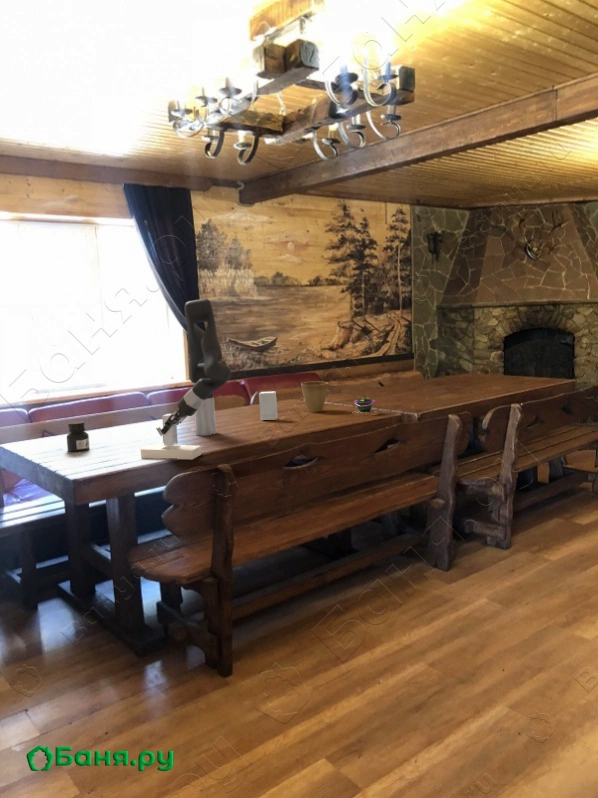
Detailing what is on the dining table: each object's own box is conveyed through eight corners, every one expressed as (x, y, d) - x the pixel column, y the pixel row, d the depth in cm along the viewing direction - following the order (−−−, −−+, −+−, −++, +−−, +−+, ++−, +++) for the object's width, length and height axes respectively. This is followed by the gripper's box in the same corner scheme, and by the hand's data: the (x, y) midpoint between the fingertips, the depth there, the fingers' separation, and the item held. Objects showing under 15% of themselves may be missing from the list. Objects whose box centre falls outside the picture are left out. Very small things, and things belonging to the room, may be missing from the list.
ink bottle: (82, 452, 264) (80, 424, 263) (63, 452, 266) (60, 424, 264) (93, 447, 274) (91, 420, 272) (75, 447, 275) (72, 420, 274)
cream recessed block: (151, 452, 260) (151, 444, 259) (201, 454, 254) (201, 445, 254) (141, 457, 251) (140, 449, 251) (192, 459, 246) (191, 450, 245)
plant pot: (300, 410, 359) (299, 382, 356) (326, 408, 360) (325, 381, 358) (303, 414, 344) (302, 385, 342) (330, 412, 346) (329, 383, 343)
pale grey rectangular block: (169, 442, 255) (168, 413, 253) (177, 443, 254) (175, 413, 252) (164, 445, 250) (162, 415, 249) (172, 445, 249) (170, 415, 248)
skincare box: (278, 419, 331) (277, 391, 329) (275, 421, 325) (274, 392, 323) (262, 419, 333) (261, 391, 331) (259, 421, 327) (258, 392, 325)
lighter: (172, 442, 281) (170, 424, 279) (173, 442, 279) (172, 424, 278) (156, 444, 277) (155, 426, 276) (158, 444, 275) (156, 426, 274)
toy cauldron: (345, 415, 338) (345, 394, 337) (359, 410, 350) (359, 391, 349) (370, 417, 330) (370, 396, 328) (383, 412, 342) (383, 392, 340)
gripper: (192, 392, 254) (167, 421, 259) (177, 397, 241) (150, 427, 245) (205, 405, 254) (180, 434, 258) (190, 411, 240) (164, 441, 245)
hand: (165, 431), depth 252 cm, fingers closed on pale grey rectangular block, 5 cm apart
